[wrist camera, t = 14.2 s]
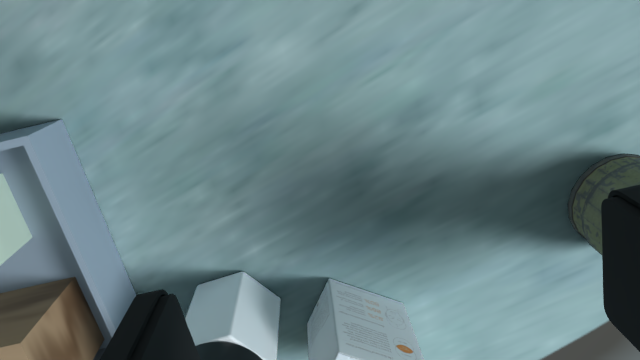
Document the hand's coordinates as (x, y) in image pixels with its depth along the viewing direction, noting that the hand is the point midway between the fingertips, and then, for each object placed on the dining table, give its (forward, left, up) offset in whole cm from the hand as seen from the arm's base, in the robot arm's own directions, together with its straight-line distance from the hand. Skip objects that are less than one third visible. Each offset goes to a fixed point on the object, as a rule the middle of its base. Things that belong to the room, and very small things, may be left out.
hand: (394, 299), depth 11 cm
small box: (+22, -2, -31) cm, 38 cm away
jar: (+19, -13, -31) cm, 38 cm away
